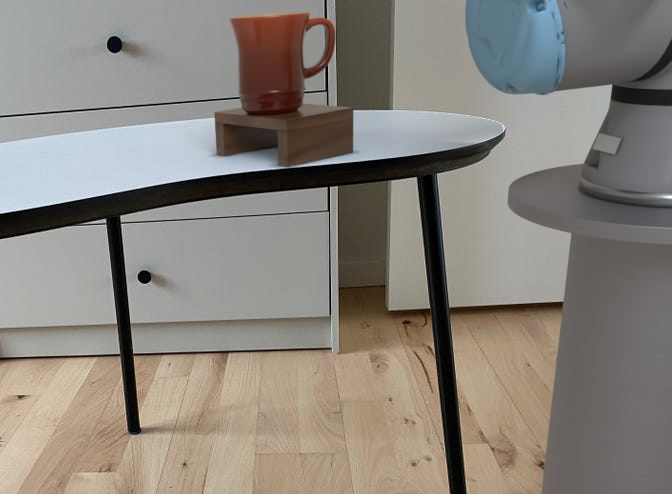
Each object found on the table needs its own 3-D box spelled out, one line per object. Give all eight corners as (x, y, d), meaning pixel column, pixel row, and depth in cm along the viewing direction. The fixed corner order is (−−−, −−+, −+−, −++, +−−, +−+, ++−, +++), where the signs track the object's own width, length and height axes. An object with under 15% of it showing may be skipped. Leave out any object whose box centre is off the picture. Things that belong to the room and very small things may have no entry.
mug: (247, 119, 91) (242, 18, 86) (225, 111, 98) (220, 17, 94) (349, 108, 93) (350, 9, 89) (320, 101, 101) (319, 9, 97)
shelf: (353, 152, 96) (353, 107, 94) (287, 166, 91) (286, 119, 89) (279, 142, 106) (278, 101, 104) (216, 154, 101) (214, 112, 99)
